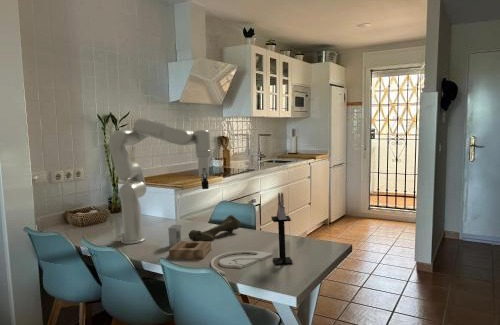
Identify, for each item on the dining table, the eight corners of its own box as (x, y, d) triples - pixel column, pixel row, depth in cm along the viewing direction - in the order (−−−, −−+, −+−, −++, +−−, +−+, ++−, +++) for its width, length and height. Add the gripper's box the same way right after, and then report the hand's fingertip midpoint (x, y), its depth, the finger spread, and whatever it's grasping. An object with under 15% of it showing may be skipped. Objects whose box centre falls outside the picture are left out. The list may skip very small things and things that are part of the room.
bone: (195, 232, 199) (241, 213, 218) (185, 230, 208) (230, 212, 226) (200, 251, 201) (245, 230, 219) (189, 248, 209) (234, 228, 227)
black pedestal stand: (272, 258, 173) (269, 191, 171) (289, 257, 174) (286, 190, 172) (275, 266, 163) (273, 195, 161) (293, 265, 164) (291, 194, 161)
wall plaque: (273, 253, 177) (223, 273, 156) (273, 257, 177) (223, 276, 156) (244, 246, 190) (194, 263, 169) (244, 249, 190) (194, 266, 169)
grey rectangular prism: (169, 247, 197) (168, 228, 196) (174, 243, 203) (173, 224, 203) (177, 247, 196) (176, 228, 195) (181, 243, 203) (180, 224, 202)
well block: (169, 258, 180) (168, 249, 180) (179, 249, 194) (179, 241, 193) (203, 258, 177) (202, 250, 177) (211, 249, 191) (210, 241, 191)
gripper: (195, 153, 208) (197, 185, 210) (195, 155, 191) (197, 190, 193) (210, 153, 209) (211, 184, 211) (211, 154, 192) (213, 189, 194)
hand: (205, 187), depth 202 cm, fingers open, 9 cm apart
